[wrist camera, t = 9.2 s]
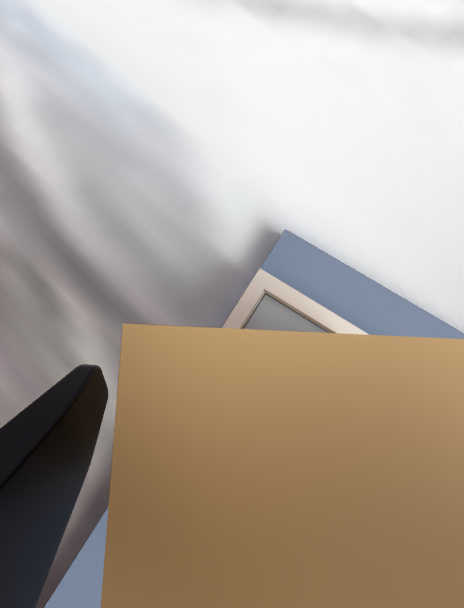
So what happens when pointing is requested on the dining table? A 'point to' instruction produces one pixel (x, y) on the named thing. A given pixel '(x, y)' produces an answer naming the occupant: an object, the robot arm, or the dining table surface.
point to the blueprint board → (282, 317)
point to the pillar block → (286, 471)
